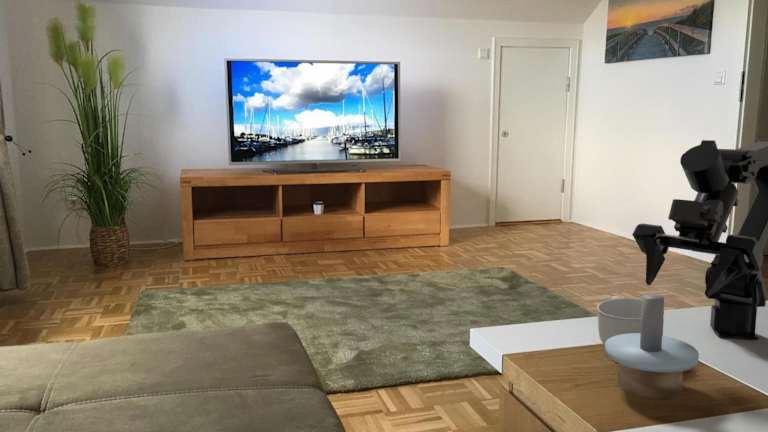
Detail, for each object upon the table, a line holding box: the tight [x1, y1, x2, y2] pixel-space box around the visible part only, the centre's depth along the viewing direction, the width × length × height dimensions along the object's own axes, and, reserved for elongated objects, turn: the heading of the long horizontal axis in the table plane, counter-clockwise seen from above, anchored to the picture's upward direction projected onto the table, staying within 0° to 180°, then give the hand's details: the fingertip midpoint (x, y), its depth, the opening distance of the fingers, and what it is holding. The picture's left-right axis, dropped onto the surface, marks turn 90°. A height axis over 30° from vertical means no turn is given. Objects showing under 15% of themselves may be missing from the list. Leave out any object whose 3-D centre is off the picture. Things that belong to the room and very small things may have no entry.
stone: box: [617, 363, 684, 400], centre depth 97 cm, size 9×9×5 cm
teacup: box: [596, 295, 665, 346], centre depth 112 cm, size 14×11×8 cm
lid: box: [604, 293, 699, 372], centre depth 95 cm, size 13×13×9 cm
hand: (676, 289), depth 100 cm, fingers open, 9 cm apart
